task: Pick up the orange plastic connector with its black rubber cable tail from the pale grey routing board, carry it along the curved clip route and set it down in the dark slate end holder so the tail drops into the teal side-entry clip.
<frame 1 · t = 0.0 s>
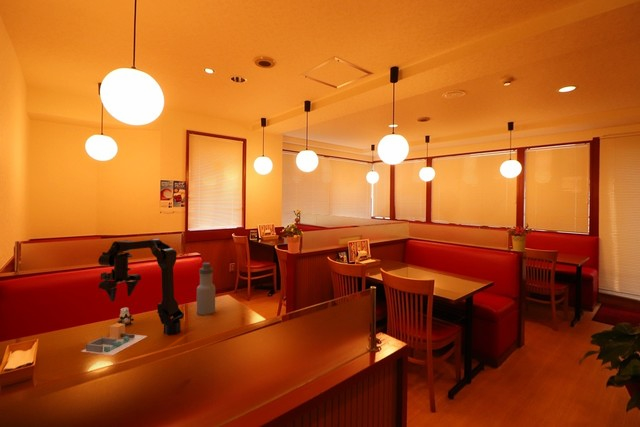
hand: (121, 298, 142), 15 cm above the table, fingers open, 9 cm apart
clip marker: (122, 343, 125), resting on routing board
connector: (117, 337, 131), point 1 cm above the table, touching routing board
valve: (125, 324, 149), on the table
end holder: (102, 347, 121), resting on routing board
water bottle: (206, 312, 167), on the table
routing board: (116, 345, 125), on the table
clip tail: (111, 348, 120), resting on routing board
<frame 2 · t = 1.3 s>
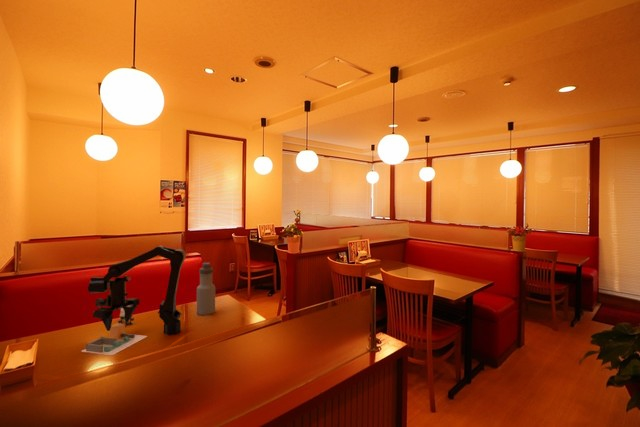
hand: (117, 326, 131), 6 cm above the table, fingers open, 9 cm apart
nothing on the table moved.
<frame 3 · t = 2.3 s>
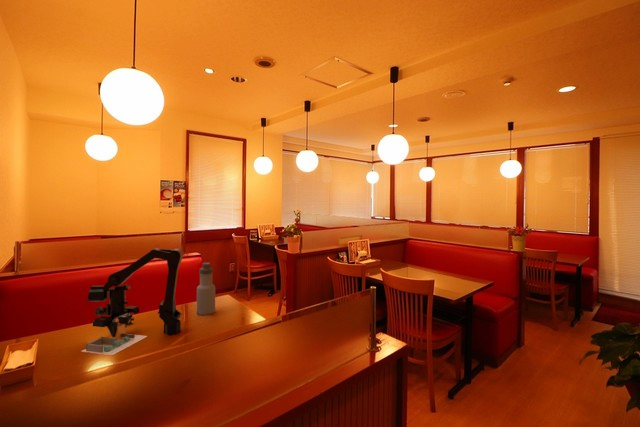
hand: (117, 335, 131), 2 cm above the table, fingers closed on connector, 4 cm apart
connector: (117, 337, 131), point 1 cm above the table, touching gripper, routing board
everything else where it was.
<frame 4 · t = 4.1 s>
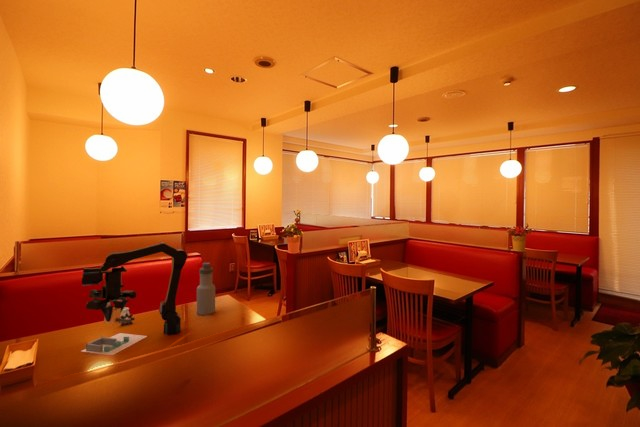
hand: (112, 319, 124), 11 cm above the table, fingers closed on connector, 4 cm apart
connector: (112, 322, 124), point 10 cm above the table, touching gripper
everything else where it was.
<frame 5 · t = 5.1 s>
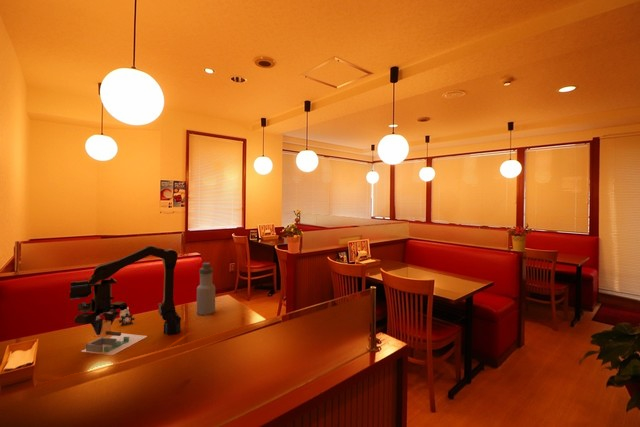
hand: (102, 332, 121), 7 cm above the table, fingers closed on connector, 4 cm apart
connector: (102, 335, 121), point 6 cm above the table, touching gripper
everything else where it was.
when the fingers open (4 cm above the table, at t = 6.0 s): connector drops 2 cm, resting on routing board.
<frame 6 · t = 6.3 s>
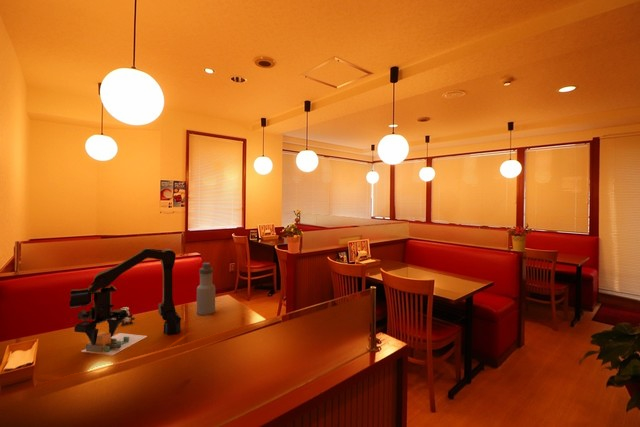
hand: (102, 340, 121), 4 cm above the table, fingers open, 7 cm apart
connector: (102, 347, 121), point 1 cm above the table, touching routing board
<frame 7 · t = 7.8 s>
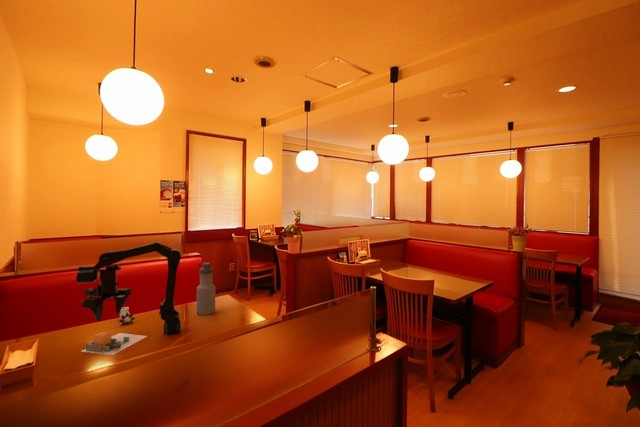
hand: (108, 317, 126), 12 cm above the table, fingers open, 9 cm apart
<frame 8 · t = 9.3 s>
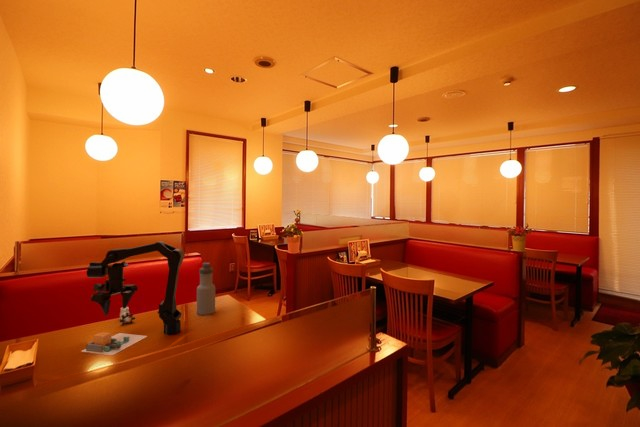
hand: (115, 311, 132), 12 cm above the table, fingers open, 9 cm apart
at the end: connector 0.1 cm off-centre on the end holder, point 0.0 cm above the end holder's base; connector tilted 0°; the gripper is holding nothing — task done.
